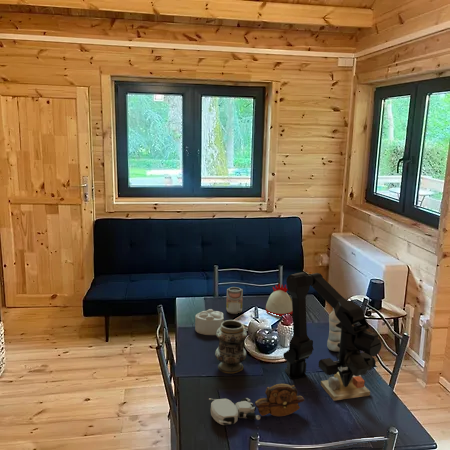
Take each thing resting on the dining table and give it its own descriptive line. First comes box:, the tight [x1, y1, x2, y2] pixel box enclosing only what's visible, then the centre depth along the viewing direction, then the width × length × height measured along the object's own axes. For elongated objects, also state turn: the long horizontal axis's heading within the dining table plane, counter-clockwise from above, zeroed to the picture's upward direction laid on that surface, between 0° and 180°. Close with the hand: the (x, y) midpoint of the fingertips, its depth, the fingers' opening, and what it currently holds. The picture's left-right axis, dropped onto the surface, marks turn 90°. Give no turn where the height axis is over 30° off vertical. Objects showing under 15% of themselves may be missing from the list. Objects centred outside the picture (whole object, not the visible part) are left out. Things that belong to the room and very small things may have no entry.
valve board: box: [320, 372, 371, 401], centre depth 157 cm, size 14×10×7 cm
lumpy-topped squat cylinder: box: [194, 308, 225, 336], centre depth 203 cm, size 10×13×9 cm
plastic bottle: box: [326, 308, 341, 353], centre depth 185 cm, size 6×7×20 cm
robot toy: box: [208, 397, 261, 426], centre depth 141 cm, size 12×4×15 cm
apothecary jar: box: [214, 319, 248, 375], centre depth 170 cm, size 12×12×18 cm
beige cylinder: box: [225, 286, 244, 315], centre depth 224 cm, size 9×8×12 cm
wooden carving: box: [254, 383, 305, 417], centre depth 142 cm, size 16×5×10 cm, turn 106°
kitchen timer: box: [265, 283, 293, 316], centre depth 225 cm, size 14×14×15 cm
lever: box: [352, 375, 366, 388], centre depth 153 cm, size 11×3×2 cm, turn 14°
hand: (345, 386), depth 148 cm, fingers closed
